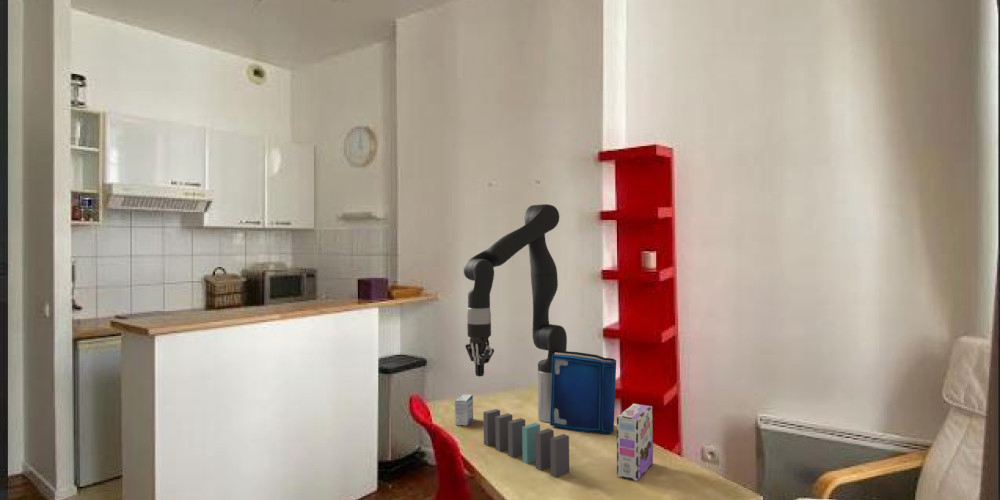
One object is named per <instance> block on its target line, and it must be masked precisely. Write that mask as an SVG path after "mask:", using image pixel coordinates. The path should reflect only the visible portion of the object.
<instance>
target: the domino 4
mask: <svg viewBox="0 0 1000 500" xmlns="http://www.w3.org/2000/svg"><path fill="white" fill-rule="evenodd" d="M538 431H541V424H539V423H536V422H535V423H534V422H533V423H530V424H525V426H523V427H522V450H523V454H522V462H523V463H525V464H530V463H534V462H536V438H535V432H538Z"/></svg>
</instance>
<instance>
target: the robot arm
mask: <svg viewBox="0 0 1000 500" xmlns="http://www.w3.org/2000/svg"><path fill="white" fill-rule="evenodd" d="M559 222H560V212H559V210H558V208H557V207H556V206H554V205H552V204H546V203H545V204H532V205H530V206H529V207H527V209H526V210H525V213H524V225H523V226H521V227H519V228H518V229H516V230H514V231H511V232H509V233H507V234H506V235H504V236H502V237H501V238H500V239H498V240H497V241H495V242H494V243H493V244H491V246H490V247H488V248H487V249H485V250H483V251H481V252H480V253H477V254H476V255H474V256H472V257H471V258H470V259H468V260H467V262H466V263H465V265H464V267H463V275H464V276H465V278H466V279H468V280H470V281H474V283H473V284H474V285H473V288H471V289H469V290H468V293H467V314H466V315H467V317H466V318H467V319H466V320H467V324H466V325H467V328H466V329H467V337H469V338H470V339H469V343H467V344H465V345H464V346H465V350H466V352H467V354H468V357H469V359H470V361H471V362H473V364H474V366H475V368H474V369H475V370H474V372H475V376H477V377H478V378H479V377H484V375H485V364H488V363H489V362H490V360H491V358H492V356H493V354H494V352H495V349H494V348H491V347H490V341H489V338H490V337H491V336H492V314H491V291H492V288H493V283H494V278H495V269H494V268H496V267H499V266H502V265H504V264H505V263H506V262H507V261H509V260H510V259H511V258H512V257H513V256H515V255H516V254H517V253H518V252H520V251H521V250H522V249H523V248H524V247H526V246H527V245H528V251H529V255H528V256H529V264H530V280H531V281H530V284H531V292H532V293H531V294H532V341H533V344H534V346H535V347H536V348H537V349H539V350H543V351H547V352H548V353H547V358H545V359H541V360H540V361H538V363H537V409H538V411H537V415H538V421H540V422H543V423H550V410H551V377H552V354H555V352H557V353H558V351H567V346H568V345H567V342H568V339H567V338H568V337H567V332H566V329H565V328H564V327H563V326H562V325H559V324H551V323H550V320H549V319H550V318H549V311H550V307H551V304H552V302H553V301H554V298H555V296H556V293H557V290H558V287H559V286H558V285H559V284H558V283H559V282H558V281H559V280H558V270H557V269H558V268H557V265H556V263H555V261H554V259H553V257H552V255H551V252H550V251H549V249H548V246H547V242H546V234H547V233H548V232H550V231H552V230H553V229H555V228H556V227H558V224H559Z"/></svg>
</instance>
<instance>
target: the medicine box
mask: <svg viewBox="0 0 1000 500" xmlns="http://www.w3.org/2000/svg"><path fill="white" fill-rule="evenodd" d="M454 415H455V418H454V420H455V425H456V426H461V425H463V426H465V427H466V426H469V425H470V423H471V422H472V421H473V419H474V396H473V394H461V395H460V396H458V397H457V398H456V400H455V401H454Z"/></svg>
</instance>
